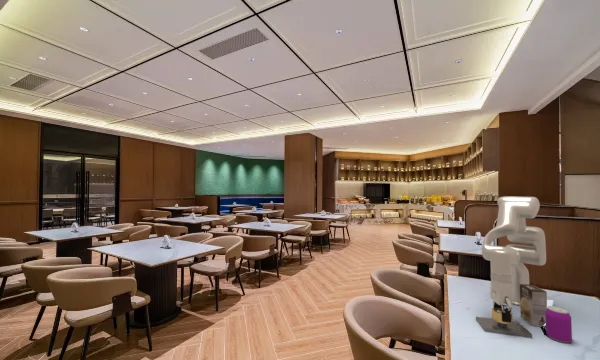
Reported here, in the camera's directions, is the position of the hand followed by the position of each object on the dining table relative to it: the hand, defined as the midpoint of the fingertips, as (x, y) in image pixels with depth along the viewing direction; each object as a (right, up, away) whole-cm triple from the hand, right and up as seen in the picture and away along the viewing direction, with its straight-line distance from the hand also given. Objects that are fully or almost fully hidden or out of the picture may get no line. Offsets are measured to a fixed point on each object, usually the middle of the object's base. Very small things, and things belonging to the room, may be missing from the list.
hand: (502, 317), depth 116 cm
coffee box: (+19, -6, +6) cm, 21 cm away
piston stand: (0, -5, 0) cm, 5 cm away
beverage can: (+17, -5, -8) cm, 20 cm away
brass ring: (0, -1, 0) cm, 1 cm away
